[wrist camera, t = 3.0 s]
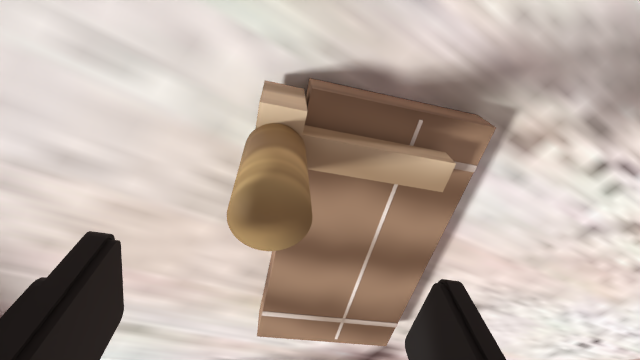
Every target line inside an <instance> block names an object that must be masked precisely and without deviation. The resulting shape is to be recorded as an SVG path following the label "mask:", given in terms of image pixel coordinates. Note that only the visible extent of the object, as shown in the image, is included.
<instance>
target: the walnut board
mask: <svg viewBox="0 0 640 360" xmlns="http://www.w3.org/2000/svg"><path fill="white" fill-rule="evenodd" d="M305 99H306V105H307V111H308V112H307V116H306V121H305V125H307V126H313V127H318V128H323V129H328V130H333V131H338V132H343V133H349V134H354V135H359V136H364V137H369V138H374V139H380V140H385V141H390V142H395V143H400V144H405V145H411V146H416V147H421V148H426V149H431V150H436V151H441V152H446V153H447V155H448V156H449V157H450V158H451V159H452V160H453V161H454V162H455V163H456V165H455V167H454V169H453V172H452V174H451V176H450V178H449V180H448V182H447V184H446V186H445V189H444V191H443V192H438V191H432V190H427V189H421V188H415V187H409V186H403V185H397V184H391V183H385V182H380V181H374V180H368V179H362V178H356V177H350V176H344V175H338V174H333V173H327V172H321V171H315V170H309V169H308V177H309V187H310V196H311V205H312V215H313V218H312V225H311V227H310V230H309V231H308V233H307V234H306V236H305V237H304V238H303V239H302V240H301V241H300V242H298V243H297V244H295V245H293V246H291V247H289V248H286V249H283V250H277V251H272V255H271V260H270V265H269V269H268V274H267V279H266V283H265V288H264V293H263V297H262V302H261V306H260V311H259V320H258V332H257V336H260V337H273V338H286V339H299V340H312V341H325V342H338V343H351V344H364V345H377V346H386V345H387V343H388V341H389V339H390V337H391V335H392V333H393V331H394V329H395V327H396V326H397V324H398V321H399V319H400V318H401V316H402V314H403V312H404V310H405V308H406V306H407V304H408V302H409V300H410V298H411V296H412V294H413V292H414V290H415V288H416V286H417V284H418V282H419V280H420V278H421V276H422V274H423V272H424V270H425V268H426V266H427V264H428V262H429V260H430V258H431V256H432V254H433V252H434V250H435V248H436V246H437V244H438V242H439V240H440V238H441V236H442V234H443V232H444V230H445V228H446V226H447V224H448V222H449V220H450V218H451V216H452V214H453V212H454V210H455V208H456V206H457V204H458V202H459V200H460V198H461V196H462V194H463V192H464V191H465V189H466V187H467V185H468V183H469V181H470V179H471V177H472V175H473V173H474V172H475V170H476V168H477V165H478V163H479V161H480V159H481V157H482V155H483V153H484V151H485V149H486V147H487V145H488V143H489V141H490V139H491V137H492V135H493V133H494V131H495V129H496V127H494V126H493V125H491V124H490V123H488V122H487V121H485V120H484V119H482V118H481V117H480V116H478V115H475V114H471V113H466V112H462V111H457V110H452V109H448V108H443V107H439V106H434V105H430V104H425V103H421V102H416V101H412V100H407V99H402V98H398V97H393V96H389V95H384V94H380V93H375V92H371V91H366V90H362V89H357V88H352V87H348V86H343V85H339V84H334V83H330V82H325V81H321V80H316V79H312V78H310V79H309V83H308V88H307V93H306V97H305Z"/></svg>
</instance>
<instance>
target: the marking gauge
mask: <svg viewBox="0 0 640 360" xmlns="http://www.w3.org/2000/svg"><path fill="white" fill-rule="evenodd" d="M307 112H308V111H307V105H306V99H305V92H304V89H302V88H298V87H293V86H288V85H283V84H279V83H274V82H269V81H265V82H264V87H263V91H262V95H261V99H260V103H259V110H258V116H257V123H256V129H255V130H254V131H253V132H252V133H251V134H250V135H249V137H248V139H247V141H246V144H245V147H244V151H243V155H242V158H241V162H240V166H239V169H238V173H237V177H236V180H235V184H234V188H233V191H232V195H231V199H230V202H229V206H228V210H227V222H228V225H229V228H230V230H231V231H232V233H233V234H234V236H235V237H236V238H237V239H238V240H239V241H241V242H242V243H244V244H245V245H247V246H249V247H252V248H254V249H258V250H263V251H277V250H283V249H286V248H289V247H291V246H293V245H295V244H297V243H298V242H300V241H301V240H302V239H303V238H304V237H305V236H306V234H307V233H308V231H309V230H310V227H311V225H312V218H313V215H312V205H311V196H310V187H309V177H308V169H309V170H315V171H321V172H327V173H333V174H338V175H344V176H350V177H356V178H362V179H368V180H374V181H380V182H385V183H391V184H397V185H403V186H409V187H415V188H421V189H427V190H432V191H438V192H443V191H444V189H445V186H446V184H447V182H448V180H449V178H450V176H451V174H452V172H453V169H454V167H455V165H456V163H455V162H454V161H453V160H452V159H451V158H450V157H449V156H448V155H447V153H446V152H441V151H436V150H431V149H426V148H421V147H416V146H411V145H405V144H400V143H395V142H390V141H385V140H380V139H374V138H369V137H364V136H359V135H354V134H349V133H343V132H338V131H333V130H328V129H323V128H318V127H313V126H307V125H305V121H306V116H307Z"/></svg>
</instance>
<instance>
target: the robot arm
mask: <svg viewBox="0 0 640 360" xmlns="http://www.w3.org/2000/svg"><path fill="white" fill-rule="evenodd" d="M123 311H124V301H123V280H122V259H121V243H120V241H117V240H115V238H114V235H112V234H106V233H99V232H92V231H90V232H87V233H86V234H85V235H84V236H83V237H82V238H81V240H80V241H79V242H78V243H77V244H76V245H75V246H74V247H73V249H72V250H71V251H70V252H69V253H68V254H67V255H66V257H65V258H64V259H63V260H62V261H61V262H60V263H59V264H58V266H57V267H56V268H55V269H54V270H53V271H52V272H51V274H50V275H49V276H48V277H47V278H39V279H37V280H36V281H35V282H33V283H32V284H31V285H30V286H29V287H28V288H27V289H26V291H25V292H24V293H23V294H22V295H21V296H20V297H19V298H18V299H17V300H16V301H15V303H14V304H13V305H12V306H11V307H10V308H9V309H8V310H7V311H6V312H5V313H4V315H3V316H2V317H1V318H0V360H100V358H101V356H102V354H103V353H104V351H105V349H106V347H107V345H108V343H109V341H110V340H111V338H112V336H113V334H114V332H115V330H116V328H117V327H118V325H119V323H120V321H121V318H122V315H123ZM405 349H406V353H407V356H408V359H409V360H506V358H505V357H504V355H503V353H502V352H501V350H500V348H499V346H498V345H497V343H496V341H495V339H494V338H493V336H492V334H491V333H490V331H489V329H488V327H487V326H486V324H485V322H484V320H483V319H482V317H481V315H480V313H479V312H478V310H477V308H476V307H475V305H474V303H473V301H472V300H471V298H470V296H469V294H468V293H467V291H466V289H465V288H464V286H463V284H462V283H461V282H459V281H452V280H444V279H441V280H440V281H439V282H438V283H435V284H434V285H433V287H432V288H431V290H430V292H429V294H428V296H427V298H426V300H425V302H424V304H423V306H422V308H421V310H420V312H419V313H418V315H417V317H416V319H415V321H414V323H413V325H412V327H411V329H410V331H409V333H408V335H407V337H406V339H405Z"/></svg>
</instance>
